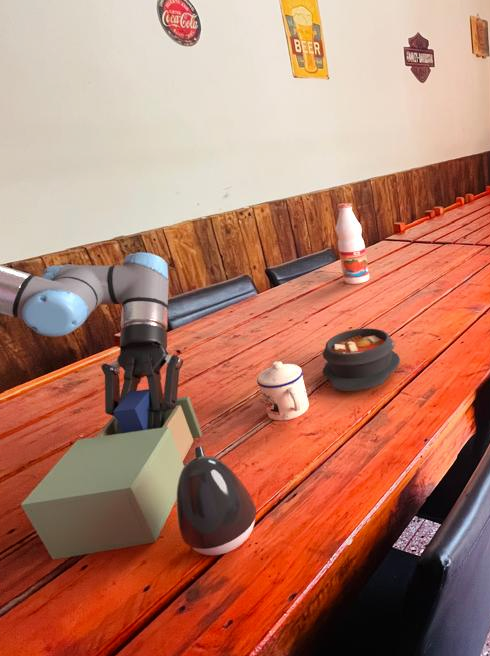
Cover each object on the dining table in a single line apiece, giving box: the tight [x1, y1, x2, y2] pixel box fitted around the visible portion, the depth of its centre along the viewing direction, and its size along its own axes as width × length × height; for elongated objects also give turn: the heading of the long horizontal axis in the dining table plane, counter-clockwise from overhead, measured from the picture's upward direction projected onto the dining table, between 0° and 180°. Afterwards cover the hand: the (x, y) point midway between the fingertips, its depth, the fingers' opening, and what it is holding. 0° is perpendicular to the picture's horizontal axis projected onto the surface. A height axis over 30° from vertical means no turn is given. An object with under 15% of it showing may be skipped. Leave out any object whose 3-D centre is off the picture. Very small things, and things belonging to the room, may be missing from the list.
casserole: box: [322, 327, 401, 392], centre depth 123 cm, size 25×19×8 cm
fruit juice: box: [335, 202, 370, 285], centre depth 185 cm, size 9×9×28 cm
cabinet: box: [20, 427, 185, 560], centre depth 82 cm, size 16×14×11 cm
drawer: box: [95, 396, 203, 463], centre depth 95 cm, size 19×13×9 cm
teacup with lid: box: [256, 360, 310, 421], centre depth 107 cm, size 12×9×12 cm
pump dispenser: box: [176, 445, 257, 556], centre depth 75 cm, size 10×10×15 cm
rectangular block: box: [113, 388, 154, 433], centre depth 93 cm, size 4×7×12 cm, turn 11°
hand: (140, 450), depth 91 cm, fingers closed on rectangular block, 3 cm apart
